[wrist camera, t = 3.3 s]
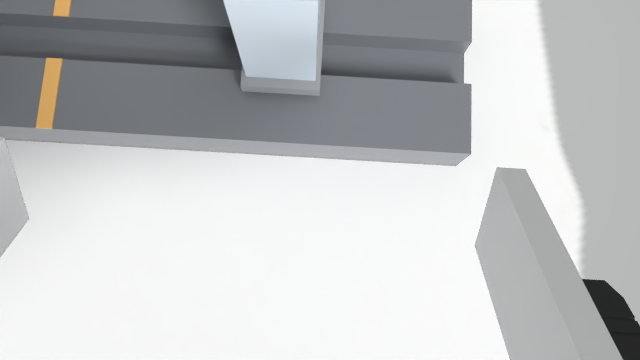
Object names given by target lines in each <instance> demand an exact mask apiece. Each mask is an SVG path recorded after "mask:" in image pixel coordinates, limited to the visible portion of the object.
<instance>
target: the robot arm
mask: <svg viewBox="0 0 640 360" xmlns="http://www.w3.org/2000/svg"><path fill="white" fill-rule="evenodd" d="M28 219H29V216H28V213H27V210H26V206H25V203H24V200H23V197H22V193H21V190H20V187H19V184H18V180H17V177H16V174H15V170H14V167H13V164H12V161H11V157H10V154H9V151H8V148H7V144H6V141H5V138H4V137H0V257H1V256H2V254H3V253H4V252H5V250H6V249H7V248H8V246H9V245H10V244H11V242H12V241H13V240H14V238H15V237H16V236H17V234H18V233H19V232H20V230H21V229H22V228H23V226H24V225H25V224H26V222H27V221H28ZM475 248H476V251H477V254H478V257H479V261H480V264H481V267H482V270H483V274H484V277H485V280H486V283H487V287H488V290H489V293H490V296H491V299H492V303H493V306H494V309H495V312H496V316H497V319H498V322H499V325H500V329H501V332H502V335H503V338H504V341H505V345H506V348H507V351H508V354H509V358H510V360H640V326H639V324H638V322H637V321H635V320H634V318H635V317H634V315H633V314H632V312H631V310H630V308H629V307H628V305H627V303H626V302H625V300H624V298H623V297H622V296H621V295H620V294H619V293H618V292H616V291H615V290H614V289H613V288H612V287H611V286H610V285H609V284H608V283H607V282H606V281H604V280H588V279H581V277H580V275H579V273H578V271H577V269H576V267H575V265H574V263H573V261H572V259H571V257H570V255H569V253H568V251H567V249H566V248H565V246H564V244H563V242H562V240H561V238H560V236H559V234H558V232H557V230H556V228H555V226H554V224H553V222H552V220H551V218H550V216H549V214H548V212H547V210H546V208H545V207H544V205H543V203H542V201H541V199H540V197H539V195H538V193H537V191H536V189H535V187H534V185H533V183H532V181H531V179H530V177H529V175H528V173H527V171H526V169H514V168H498V167H497V169H496V172H495V176H494V179H493V183H492V186H491V190H490V194H489V197H488V201H487V204H486V208H485V211H484V215H483V218H482V222H481V226H480V229H479V233H478V236H477V240H476V243H475Z"/></svg>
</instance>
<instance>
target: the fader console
mask: <svg viewBox="0 0 640 360" xmlns="http://www.w3.org/2000/svg"><path fill="white" fill-rule="evenodd" d="M471 42H472V0H325V11H324V28H323V45H322V63H321V80H320V96H312V95H296V94H279V93H263V92H246V91H242V89H241V86H240V84H241V72H242V61H241V58H240V55H239V51H238V48H237V45H236V41H235V38H234V35H233V31H232V28H231V25H230V21H229V18H228V15H227V11H226V8H225V5H224V1H223V0H0V137H4V138H5V139H8V140H25V141H42V142H59V143H75V144H92V145H109V146H126V147H143V148H160V149H177V150H194V151H211V152H228V153H245V154H262V155H279V156H296V157H313V158H330V159H347V160H364V161H381V162H398V163H414V164H431V165H448V166H456V165H458V164H459V163H460V162H461V161H463V160H464V159H465V158H466V157H468V156H469V155H470V154H471V84H464V52H465V51H466V49H467V48H468V46H469V45H470V43H471Z"/></svg>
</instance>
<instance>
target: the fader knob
mask: <svg viewBox="0 0 640 360" xmlns="http://www.w3.org/2000/svg"><path fill="white" fill-rule="evenodd" d="M223 1H224V5H225V8H226V11H227V15H228V18H229V21H230V25H231V28H232V31H233V35H234V38H235V41H236V45H237V48H238V51H239V55H240V58H241V61H242V72H241V84H240V86H241V89H242V91H246V92H263V93H279V94H296V95H312V96H320V80H321V63H322V45H323V28H324V11H325V0H223Z"/></svg>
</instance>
